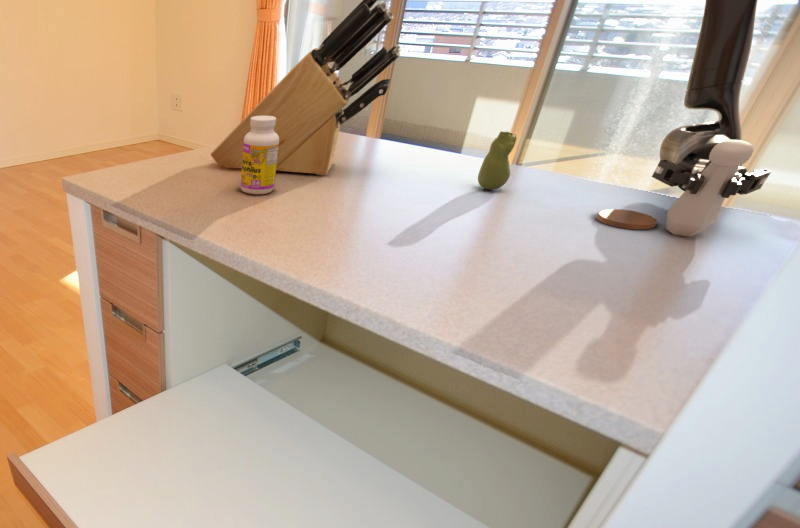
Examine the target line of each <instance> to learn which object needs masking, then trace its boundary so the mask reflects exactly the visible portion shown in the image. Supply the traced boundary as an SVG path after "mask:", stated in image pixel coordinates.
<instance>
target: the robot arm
mask: <svg viewBox="0 0 800 528" xmlns="http://www.w3.org/2000/svg"><path fill="white" fill-rule="evenodd" d="M704 4H705V5H704V11H703V16H702V22H701V26H700V31H699V34H698V39H697V43H696V47H695V52H694V55H693V60H692V63H691V69H690V73H689V77H688V81H687V85H686V90H685V95H684V100H683V105H684V107H685V108H686V109H688V110H708V111H713V112H715V113H717V116H718V120H716V121H709V122H701V123H695V124H688V125H687V124H686V125H682V126H678V127H676V128H674V129H672V130H671V131H670V132H669V133H667V134H666V135H665V137H664V138H663V140H662V142H661V144H660V147H659V162H658V164H657V166H656V167H655V169H654V172H653V173H652V176H651V177H652V178H653V179H655V180H657V181H659V182H661V183H663V184H665V185H667V186H668V187H671V188H672V187H678V188H679V189H680V190H681V191H683V192H685V191H686V190H689V193H690V194H697V192H698V190H699V189H700V187H701V185H702V183H703V182H704V179H705V177H704V176H702V175H701V173H702V172H703V171H704V170H705V169H706V167H707V166H708V165H709V164H710V163H711V161H710V160H709V155H710V152H711V150H712V149H713V148H714V147H715V145H717V144H718V143H720V142H722V141H726V140H741V141H742V137H743V136H742V126H741V125H742V124H741V118H740V117H741V116H740V96H741V90H742V86H743V81H744V77H745V74H746V70H747V67H748V62H749V58H750V54H751V50H752V45H753V37H754V31H755V30H754V28H755V20H756V13H757V7H758V0H705V3H704ZM771 173H772V170H770V169H767V168H764V169H759V170H757V169H755V170H753V171H752V172H751V173H750V172H748V169H747V168H746V167H744V166H743V164H742V165H739V167H738V169H737V171H736V173H735V176H734V178H732V179H730V180H729V182H728V184H727V186H726V187H725V189H724V191H723V192H722V194H721V197H722V198H725V199H729V198H730V197H731V196H736V195H737V194H738V195H740V196H741V195H748V194H751V193H754V192H755V191H758V190H761V189H762V187H763V185H764V184H765V182H766V181H767V179H768V178H769V176H770V174H771Z"/></svg>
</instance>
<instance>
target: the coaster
mask: <svg viewBox="0 0 800 528" xmlns="http://www.w3.org/2000/svg"><path fill="white" fill-rule="evenodd" d="M595 219H596V220H597V221H598V222H600V223H602V224H604V225H607V226H611V227H614V228H620V229H626V230H638V231H639V230H640V231H641V230H650V229H654V228H655V227H656V225H657V223H658V219H657V218H656V217H654V216H652V215H651V214H648V213H644V212H639V211H634V210H629V209H617V208H611V209H610V208H609V209H602V210H599V211H597V214H596V216H595Z"/></svg>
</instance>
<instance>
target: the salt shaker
mask: <svg viewBox="0 0 800 528" xmlns="http://www.w3.org/2000/svg"><path fill="white" fill-rule="evenodd" d="M754 150H755V149H754V146H753V145H752V143H750V142H748V141H745V140H742V139H741V140H726V141H722V142H720V143H718V144H717V145H715V147H714V148H713V149H712V150H711V152H710V155H709V160H710V161H711V163H710V164H709V165H708V166H707V167H706V169H705V170H704V171H703V172H702V173H701V175H702V176H704V177H705V179H704V182H703V183H702V185H701V187H700V189H699V190H698V192H697V194H690V193H689V190H686V191H683V193H682V194H681V195H680V197H678V199H677V200H676V201H674V202H673V204H672V205H671V206H670V208H669V209H668V210H667V212H666V217H665V218H666V219H665V230H667V231H668V232H670V233H671V234H672V235H674V236H680V237H681V236H682V237H693V236H695V235H698V234H701V233H702V232H703V231H704V230H705V229H707V228H708V227H710V226H711V225H712V224H713V223H714V222H716V219H717V217H718V215H719V212H720V210H721V208H722V205H723V204H724V201H725V199H726V198H722V197H721V194H722V192H723V191H724V189H725V187H726V186H727V184H728V182H729V180H730V179H732V178H734V176H735V173H736V171H737V169H738V167H739V165H742V166H743V165H744V164H746V163H747V162H748V161H749V160H750V158H752V155H753V153H754Z"/></svg>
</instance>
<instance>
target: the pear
mask: <svg viewBox="0 0 800 528" xmlns="http://www.w3.org/2000/svg"><path fill="white" fill-rule="evenodd" d="M516 143H517V134H514V133H512V132H510V131H502V130H501V131H500V132H499V133H498V135H497V137H495V139H493V141H492V142H491V144H490V147H489V150H488V153H486V155H485V157H484V159H483V162H482V163H481V166H480V169H479V171H478V175H477V183H478V185H479V186H480V187H481V188H483V189H484V190H489V191H494V190H498V189H500V188H502V187H503V186H504V185H505V184H506V183H507V182H508V181H509V179H510V176H511V168H510V160H509V155H510V154H511V152H512V151H513V149H514V148H515V146H516Z"/></svg>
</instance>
